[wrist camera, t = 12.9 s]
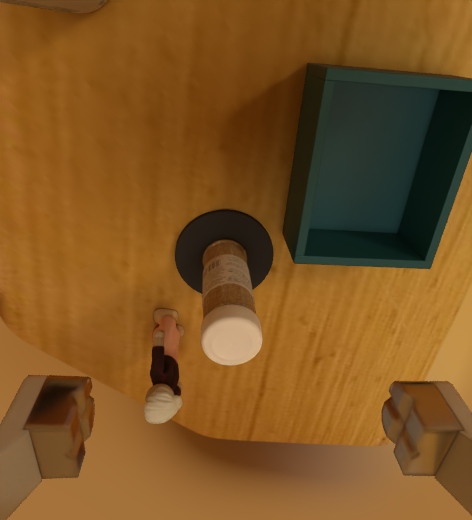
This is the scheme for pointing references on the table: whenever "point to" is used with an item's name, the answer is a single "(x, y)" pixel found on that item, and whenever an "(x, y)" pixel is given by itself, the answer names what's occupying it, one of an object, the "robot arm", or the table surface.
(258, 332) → the sprinkles bottle
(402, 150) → the basin
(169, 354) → the grandmother figurine
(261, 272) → the pad
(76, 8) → the spray can
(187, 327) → the table surface
